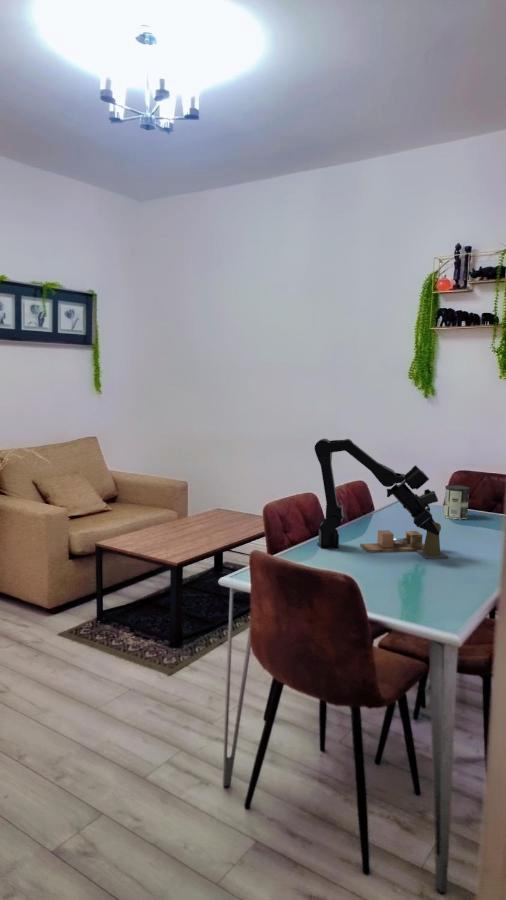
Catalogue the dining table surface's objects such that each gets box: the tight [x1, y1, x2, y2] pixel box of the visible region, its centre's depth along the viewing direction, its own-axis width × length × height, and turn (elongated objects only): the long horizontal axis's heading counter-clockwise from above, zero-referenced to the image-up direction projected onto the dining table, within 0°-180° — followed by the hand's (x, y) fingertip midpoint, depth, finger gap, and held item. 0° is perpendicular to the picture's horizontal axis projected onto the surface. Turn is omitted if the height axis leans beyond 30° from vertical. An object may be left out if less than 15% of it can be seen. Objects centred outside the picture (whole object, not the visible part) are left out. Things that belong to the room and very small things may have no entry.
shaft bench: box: [359, 530, 425, 554], centre depth 215 cm, size 24×8×6 cm, turn 99°
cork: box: [423, 522, 442, 556], centre depth 208 cm, size 6×6×11 cm
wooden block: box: [376, 529, 407, 548], centre depth 215 cm, size 10×5×5 cm, turn 99°
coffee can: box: [443, 484, 470, 521], centre depth 267 cm, size 10×10×14 cm
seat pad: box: [416, 550, 449, 560], centre depth 208 cm, size 8×8×1 cm
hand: (437, 531), depth 207 cm, fingers open, 9 cm apart
